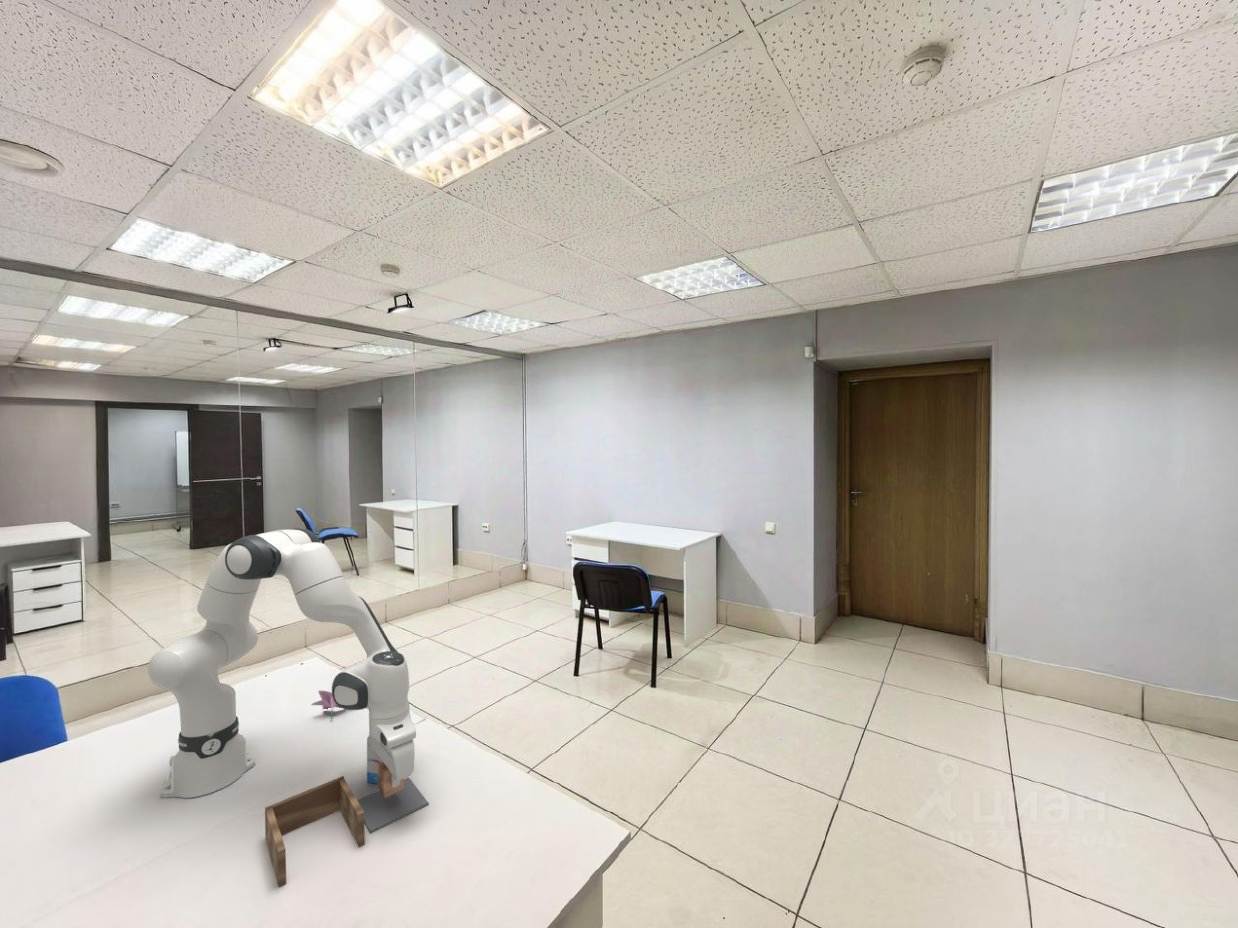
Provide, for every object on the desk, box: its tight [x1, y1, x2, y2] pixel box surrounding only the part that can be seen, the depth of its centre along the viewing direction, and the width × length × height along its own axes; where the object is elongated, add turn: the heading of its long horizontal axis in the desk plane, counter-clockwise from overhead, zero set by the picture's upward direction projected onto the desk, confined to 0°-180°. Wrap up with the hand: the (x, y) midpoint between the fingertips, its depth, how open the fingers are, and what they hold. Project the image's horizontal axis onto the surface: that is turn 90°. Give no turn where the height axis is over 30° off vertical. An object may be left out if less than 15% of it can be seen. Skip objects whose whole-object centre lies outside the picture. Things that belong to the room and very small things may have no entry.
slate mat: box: [357, 776, 430, 834], centre depth 119 cm, size 13×13×1 cm
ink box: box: [366, 734, 381, 785], centre depth 130 cm, size 9×5×12 cm, turn 168°
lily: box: [310, 690, 342, 720], centre depth 159 cm, size 12×12×10 cm
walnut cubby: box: [264, 775, 366, 888], centre depth 107 cm, size 17×15×7 cm
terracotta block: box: [377, 762, 405, 798], centre depth 118 cm, size 4×4×6 cm
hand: (390, 779), depth 118 cm, fingers closed on terracotta block, 4 cm apart
